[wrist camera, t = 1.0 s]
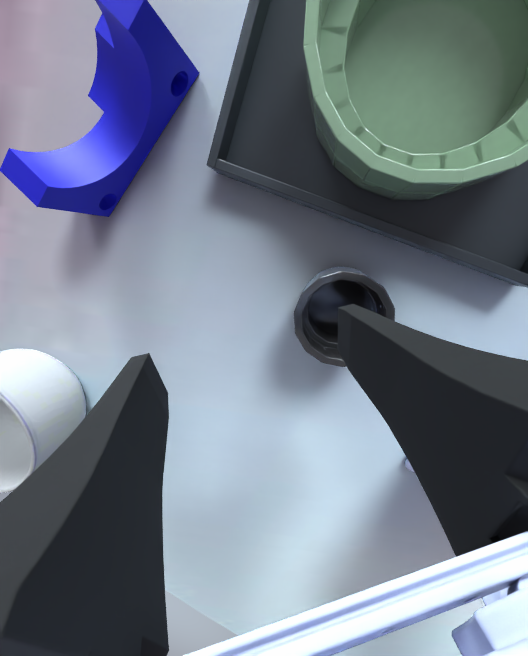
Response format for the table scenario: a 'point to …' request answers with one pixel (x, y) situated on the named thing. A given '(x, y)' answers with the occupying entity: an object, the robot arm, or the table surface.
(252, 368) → the table surface
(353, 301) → the black cup
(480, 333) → the table surface
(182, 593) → the table surface
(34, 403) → the teacup
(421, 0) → the sage bowl
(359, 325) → the robot arm
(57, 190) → the blue curved stand
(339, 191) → the tray
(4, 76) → the table surface
